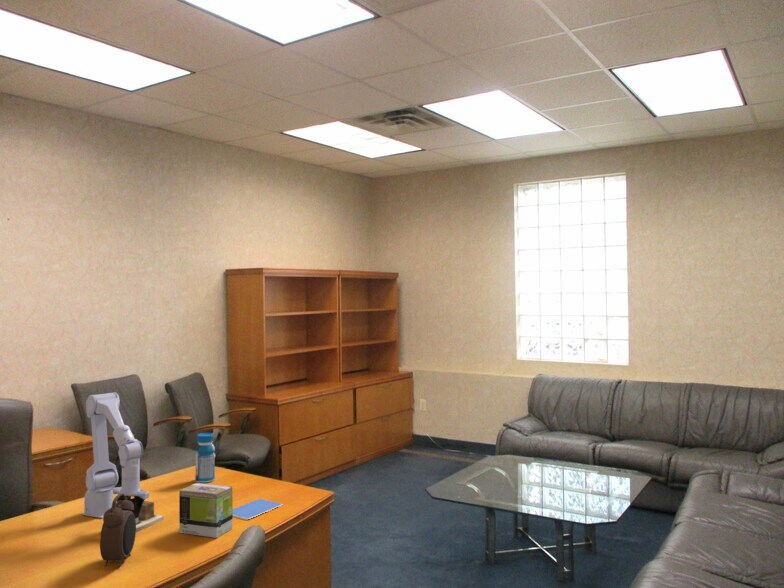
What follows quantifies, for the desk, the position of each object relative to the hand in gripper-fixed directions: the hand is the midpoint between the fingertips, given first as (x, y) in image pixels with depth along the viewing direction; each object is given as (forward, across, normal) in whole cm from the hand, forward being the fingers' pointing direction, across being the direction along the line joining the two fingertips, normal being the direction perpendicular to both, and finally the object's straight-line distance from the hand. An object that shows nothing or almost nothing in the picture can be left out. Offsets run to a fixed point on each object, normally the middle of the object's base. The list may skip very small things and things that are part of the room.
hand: (130, 517), depth 215 cm
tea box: (+4, +26, +8) cm, 27 cm away
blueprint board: (+4, 0, +4) cm, 5 cm away
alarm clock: (+4, +18, -22) cm, 29 cm away
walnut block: (+2, 0, +7) cm, 7 cm away
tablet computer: (+4, +29, +32) cm, 43 cm away
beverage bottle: (+4, -12, +54) cm, 56 cm away
